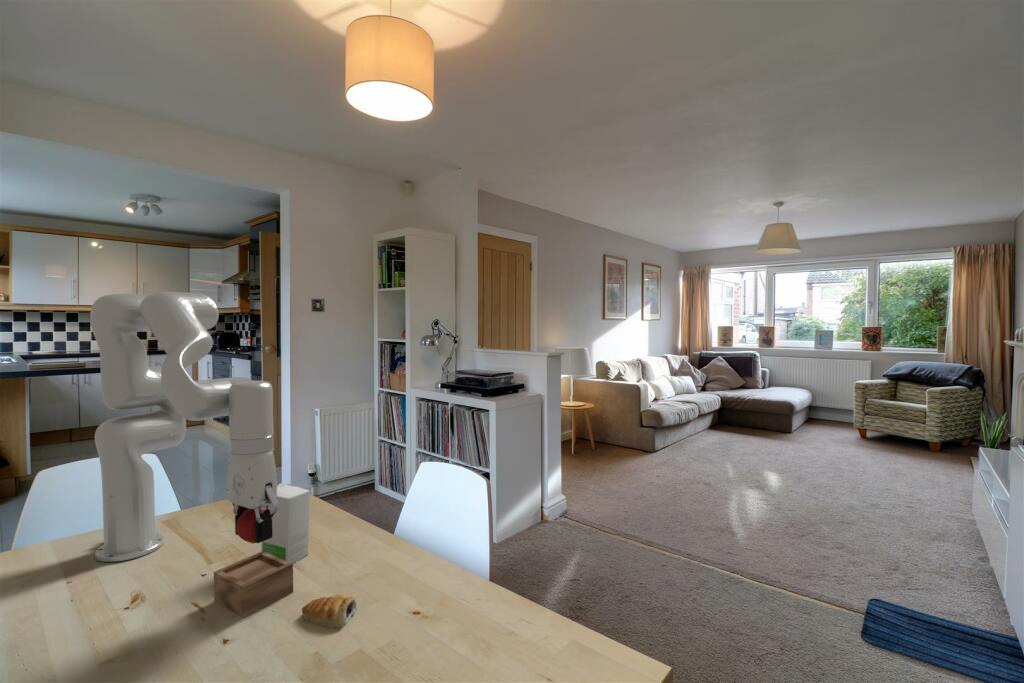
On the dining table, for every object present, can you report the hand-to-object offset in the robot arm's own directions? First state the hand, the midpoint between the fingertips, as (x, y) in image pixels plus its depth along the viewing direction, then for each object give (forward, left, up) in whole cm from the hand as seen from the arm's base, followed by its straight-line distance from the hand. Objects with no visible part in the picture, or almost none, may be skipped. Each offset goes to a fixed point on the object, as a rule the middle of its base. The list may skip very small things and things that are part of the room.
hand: (253, 535), depth 95 cm
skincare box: (-9, +13, -13) cm, 20 cm away
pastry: (+18, +4, -13) cm, 22 cm away
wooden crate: (0, 0, -12) cm, 12 cm away
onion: (0, 0, -2) cm, 2 cm away
